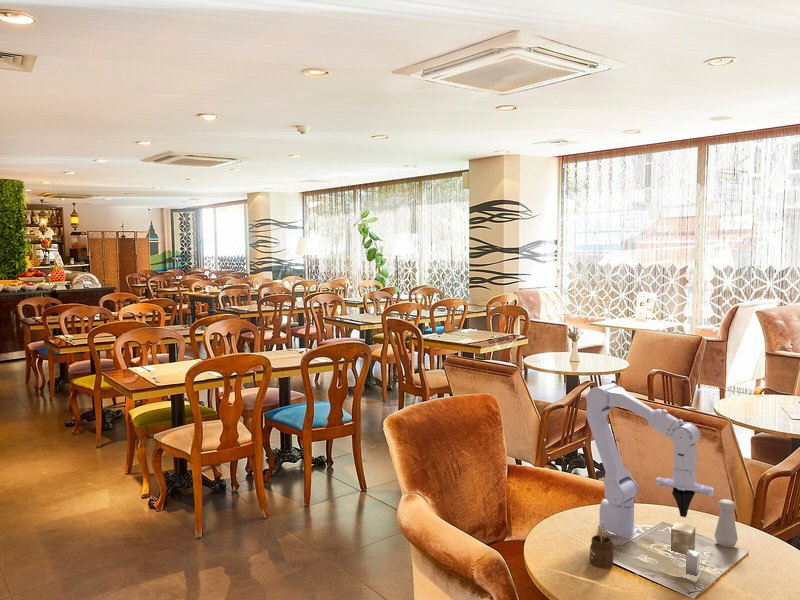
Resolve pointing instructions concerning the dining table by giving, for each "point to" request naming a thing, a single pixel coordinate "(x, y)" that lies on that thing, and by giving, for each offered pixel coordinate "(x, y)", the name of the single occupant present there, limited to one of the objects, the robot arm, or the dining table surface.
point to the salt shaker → (726, 524)
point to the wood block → (682, 538)
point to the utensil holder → (601, 550)
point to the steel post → (692, 562)
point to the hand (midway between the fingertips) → (683, 515)
